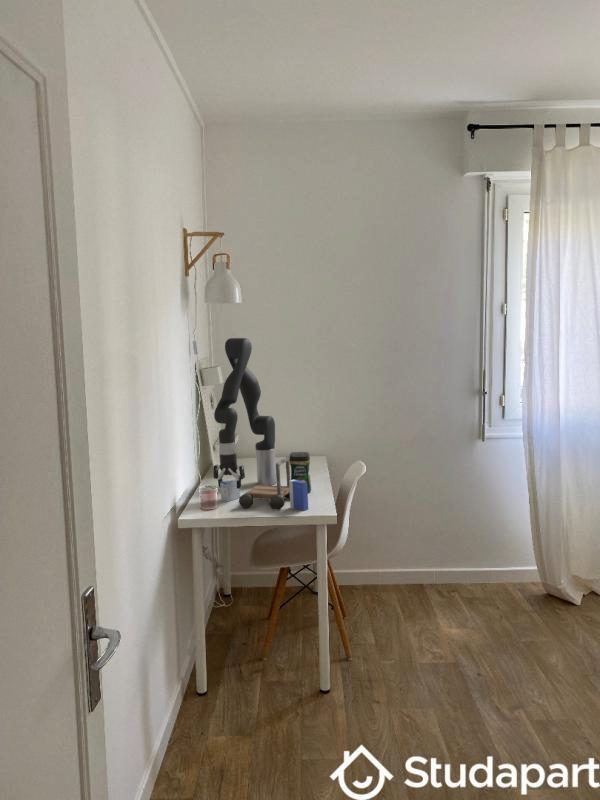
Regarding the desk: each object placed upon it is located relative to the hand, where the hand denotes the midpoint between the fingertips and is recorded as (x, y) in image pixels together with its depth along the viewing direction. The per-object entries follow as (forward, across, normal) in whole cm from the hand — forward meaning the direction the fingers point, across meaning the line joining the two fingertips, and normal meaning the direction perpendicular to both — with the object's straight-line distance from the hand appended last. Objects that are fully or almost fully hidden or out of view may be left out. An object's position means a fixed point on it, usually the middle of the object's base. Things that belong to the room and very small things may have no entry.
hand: (229, 488), depth 291 cm
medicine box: (+5, 0, -1) cm, 5 cm away
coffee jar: (+5, -28, -16) cm, 33 cm away
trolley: (+5, -20, +4) cm, 21 cm away
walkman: (+6, -36, +9) cm, 37 cm away
